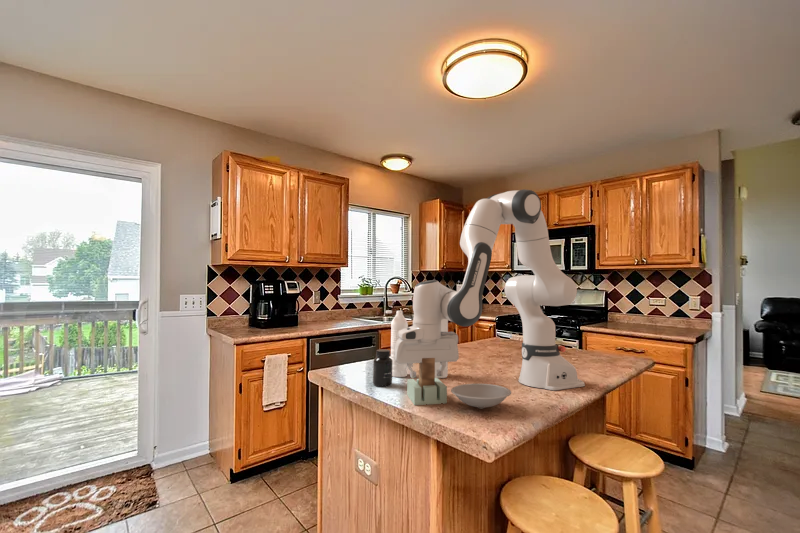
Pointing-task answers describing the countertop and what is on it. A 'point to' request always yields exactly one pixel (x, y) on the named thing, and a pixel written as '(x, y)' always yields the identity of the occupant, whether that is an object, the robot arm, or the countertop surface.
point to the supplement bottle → (382, 368)
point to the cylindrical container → (437, 364)
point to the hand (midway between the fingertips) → (426, 376)
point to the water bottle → (396, 325)
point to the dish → (481, 394)
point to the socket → (427, 392)
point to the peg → (426, 373)
